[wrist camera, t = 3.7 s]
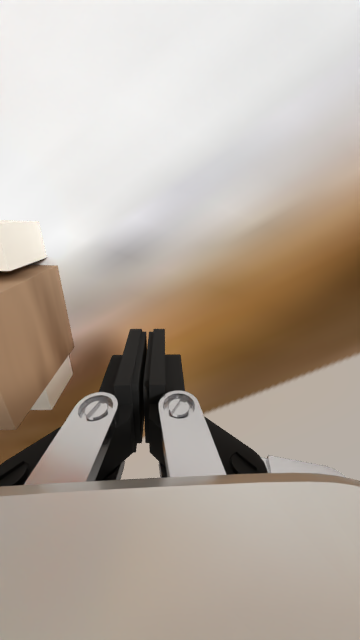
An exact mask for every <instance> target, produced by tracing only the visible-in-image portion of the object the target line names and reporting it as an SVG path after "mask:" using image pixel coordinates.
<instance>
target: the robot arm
mask: <svg viewBox="0 0 360 640" xmlns="http://www.w3.org/2000/svg"><path fill="white" fill-rule="evenodd" d="M144 419H145V439H146V443H149V444H150V453H151V454H152V455H153V456H154V457H155V458H156V459H157V460H158V461H159V469H160V477H161V478H148V479H128V480H120V479H121V475H122V472H123V469H124V462H125V461H124V460H125V459H126V458H127V457H129V456H130V455H131V454H132V453H133V452H136V446H137V443H142V435H143V424H144ZM0 640H360V481H358V480H354V479H350V478H346V477H345V476H344V475H343V474H342V473H340V472H339V471H337V470H335V469H333V468H330V467H327V466H323V465H318V464H312V463H307V462H302V461H297V460H291V459H286V458H281V457H275V456H269V455H268V457H267V458H262V457H260V456H259V455H258V454H257V453H256V452H255V451H254V450H252V449H251V448H249V447H248V446H246V445H245V444H243V443H242V442H241V441H239V440H238V439H236V438H235V437H233V436H232V435H230V434H229V433H228V432H226V431H225V430H223V429H222V428H220V427H219V426H217V425H216V424H214V423H213V422H211V421H210V420H209V419H207V418H206V417H204V415H203V412H202V410H201V407H200V405H199V402H198V400H197V399H196V398H195V397H194V396H193V395H192V394H190V393H188V392H185V388H184V380H183V372H182V363H181V356H180V355H165V329H154V332H149V339H148V347H147V341H146V332H142V329H130V332H129V335H128V339H127V342H126V346H125V349H124V352H123V355H113V356H112V357H111V360H110V362H109V365H108V368H107V371H106V373H105V376H104V379H103V382H102V384H101V387H100V390H99V392H98V393H93V394H90V395H88V396H86V397H84V398H83V399H82V400H80V401H79V402H78V403H77V405H76V406H75V407H74V409H73V410H72V412H71V413H70V415H69V416H68V418H67V419H66V421H65V422H64V424H63V426H61V427H60V428H58V429H57V430H55V431H53V432H52V433H50V434H48V435H47V436H45V437H44V438H42V439H40V440H39V441H37V442H36V443H34V444H32V445H31V446H29V447H27V448H26V449H24V450H23V451H21V452H19V453H18V454H16V455H15V456H13V457H11V458H10V459H8V460H6V461H5V462H4V463H2V464H1V465H0Z"/></svg>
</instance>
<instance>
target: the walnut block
mask: <svg viewBox="0 0 360 640" xmlns="http://www.w3.org/2000/svg"><path fill="white" fill-rule="evenodd" d="M73 348H74V343H73V339H72V334H71V329H70V324H69V319H68V314H67V309H66V305H65V300H64V295H63V290H62V285H61V280H60V275H59V271H58V266H49V265H25V266H22V267H20V268H17V269H14V270H11V271H0V430H16V429H17V428H18V427H19V425H20V424H21V422H22V421H23V419H24V418H25V417H26V415H27V414H28V412H29V411H30V409H31V408H32V407H33V405H34V404H35V402H36V401H37V399H38V398H39V397H40V395H41V394H42V392H43V391H44V389H45V388H46V387H47V385H48V384H49V382H50V381H51V379H52V378H53V377H54V375H55V374H56V372H57V371H58V369H59V368H60V367H61V365H62V364H63V362H64V361H65V360H66V358H67V357H68V355H69V354H70V352H71V351H72V350H73Z"/></svg>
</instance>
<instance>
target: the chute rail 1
mask: <svg viewBox="0 0 360 640" xmlns="http://www.w3.org/2000/svg"><path fill="white" fill-rule="evenodd" d="M44 258H47V255H46V251H45V246H44V242H43V237H42V233H41V228H40V224H39V222H38V221H11V220H0V271H11V270H14V269H17V268H20V267H22V266H25V265H28V264H30V263H33V262H36V261H39V260H41V259H44Z"/></svg>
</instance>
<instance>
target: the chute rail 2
mask: <svg viewBox="0 0 360 640" xmlns="http://www.w3.org/2000/svg"><path fill="white" fill-rule="evenodd" d="M72 375H73V372H72V367H71V363H70V358H69V355H68V357H67V358H66V360H65V361H64V362H63V364H62V365H61V367H60V368H59V369H58V371H57V372H56V374H55V375H54V377H53V378H52V379H51V381H50V382H49V384H48V385H47V387H46V388H45V389H44V391H43V392H42V394H41V395H40V397H39V398H38V399H37V401H36V402H35V404H34V405H33V407H32V408H31V409H30V410H52V409H53V407H54V405H55V404H56V402H57V400H58V399H59V397H60V395H61V394H62V392H63V390H64V388H65V387H66V385H67V383H68V382H69V380H70V378H71V377H72Z"/></svg>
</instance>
